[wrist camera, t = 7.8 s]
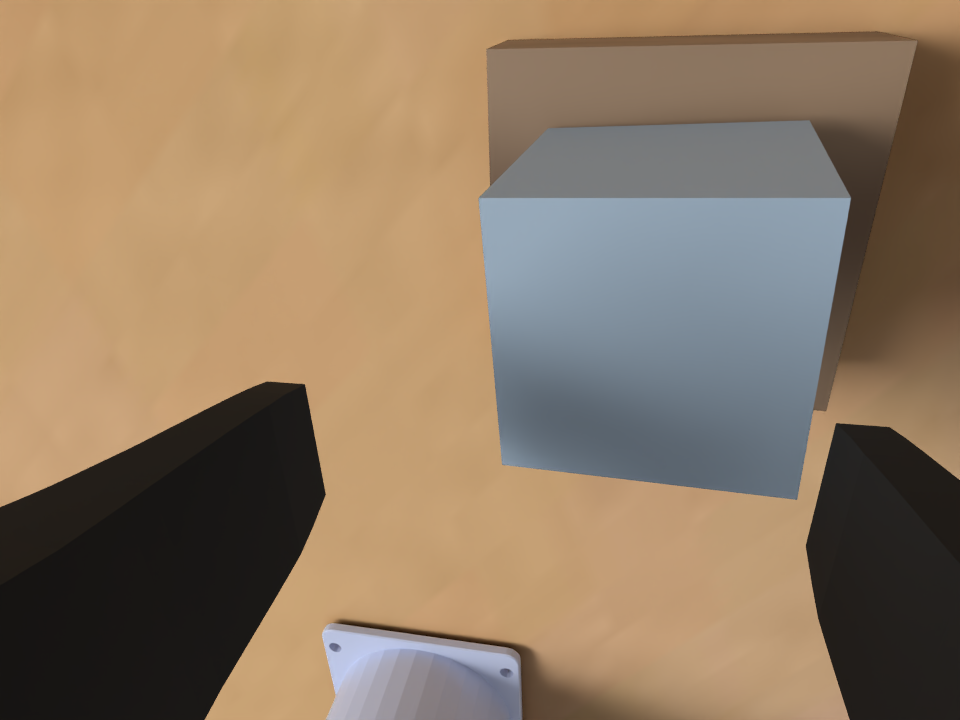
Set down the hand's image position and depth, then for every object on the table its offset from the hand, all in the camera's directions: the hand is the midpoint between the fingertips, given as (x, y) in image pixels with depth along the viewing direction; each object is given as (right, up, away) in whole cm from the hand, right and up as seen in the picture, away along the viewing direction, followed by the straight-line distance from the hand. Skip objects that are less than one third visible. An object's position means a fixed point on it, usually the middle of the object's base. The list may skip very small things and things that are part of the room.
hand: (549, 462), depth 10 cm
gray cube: (+3, +4, +5) cm, 7 cm away
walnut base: (+4, +5, +8) cm, 10 cm away
